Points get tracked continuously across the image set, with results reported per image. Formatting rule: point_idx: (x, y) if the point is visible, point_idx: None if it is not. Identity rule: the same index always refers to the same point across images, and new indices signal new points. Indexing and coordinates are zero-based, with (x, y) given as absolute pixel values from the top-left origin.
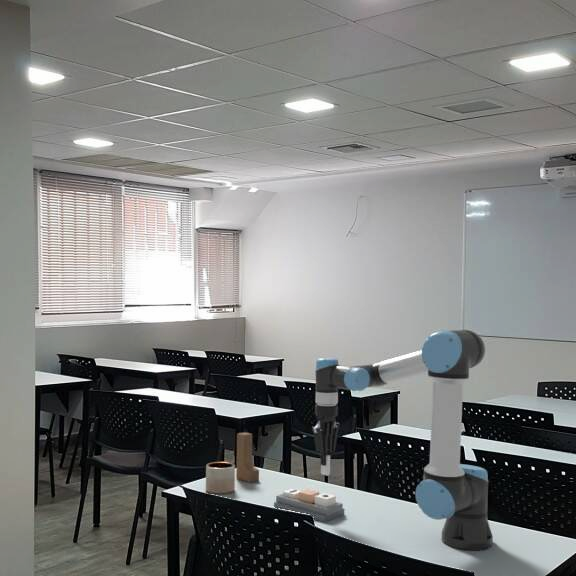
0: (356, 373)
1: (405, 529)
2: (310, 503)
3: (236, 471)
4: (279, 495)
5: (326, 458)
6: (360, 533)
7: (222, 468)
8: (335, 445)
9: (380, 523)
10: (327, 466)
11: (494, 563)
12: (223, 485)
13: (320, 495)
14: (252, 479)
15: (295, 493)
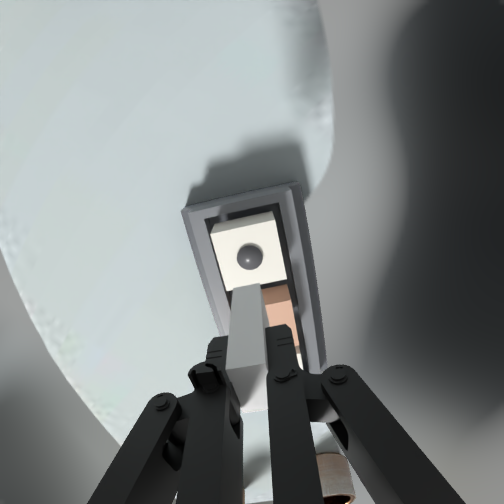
0: None
1: (128, 7)
2: (284, 285)
3: (244, 500)
4: None
5: (266, 356)
6: (271, 36)
7: (344, 493)
8: (132, 435)
9: (145, 75)
10: (261, 312)
11: None
12: (336, 465)
13: (261, 274)
14: None
15: None
